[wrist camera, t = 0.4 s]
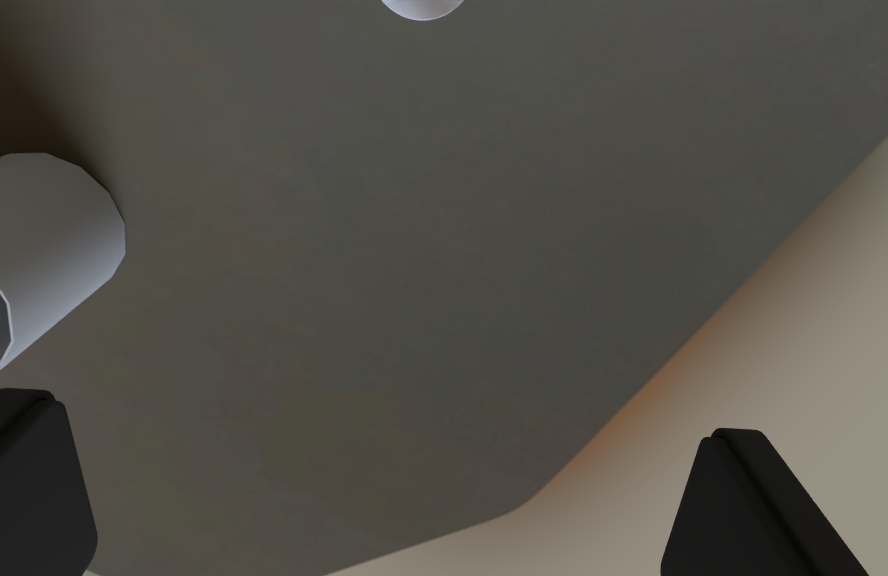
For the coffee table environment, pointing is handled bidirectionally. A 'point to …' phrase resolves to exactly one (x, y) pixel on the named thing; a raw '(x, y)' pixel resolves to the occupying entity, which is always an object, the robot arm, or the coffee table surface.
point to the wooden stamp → (422, 8)
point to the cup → (50, 244)
